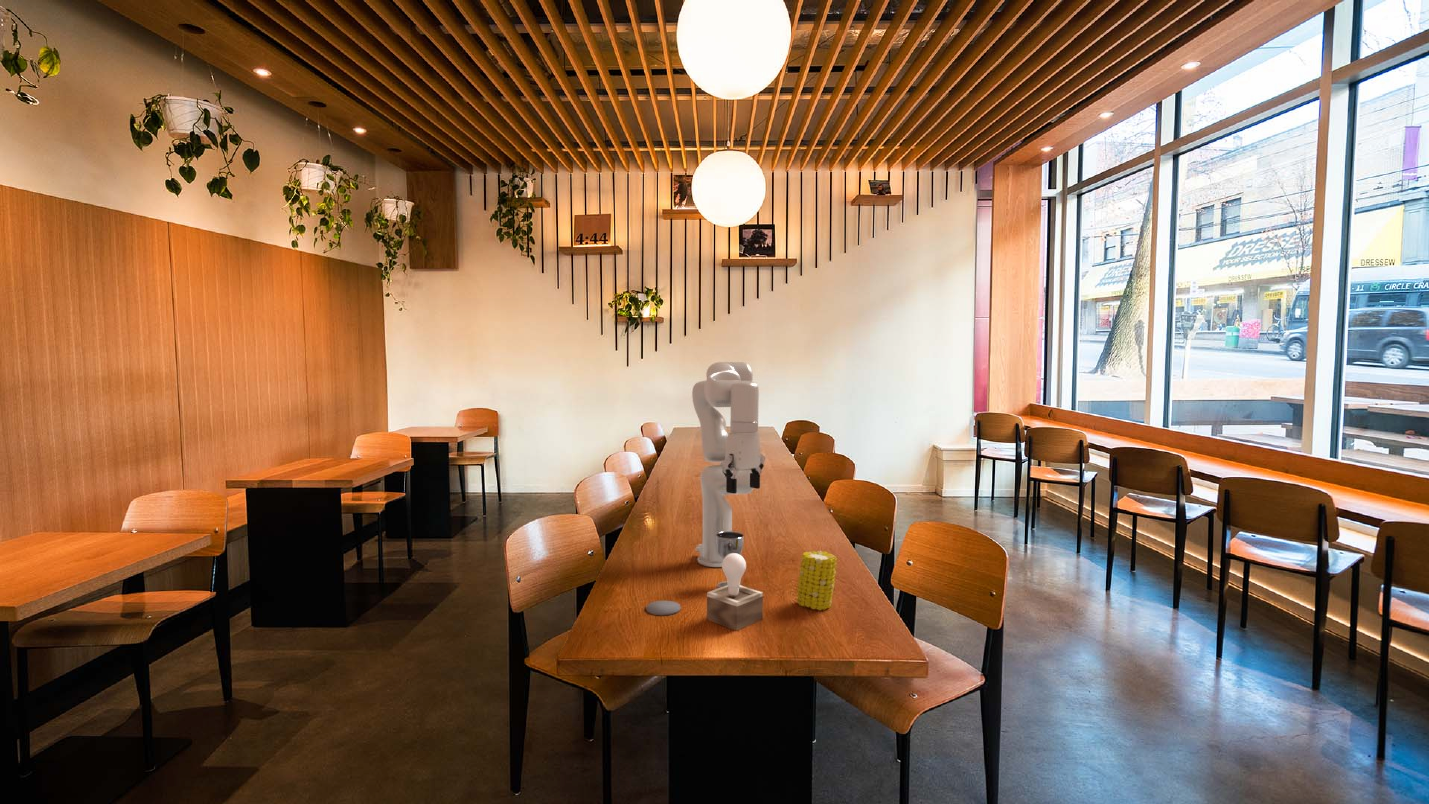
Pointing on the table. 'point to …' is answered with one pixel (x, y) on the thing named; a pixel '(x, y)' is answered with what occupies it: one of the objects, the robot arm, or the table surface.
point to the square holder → (735, 607)
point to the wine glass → (728, 546)
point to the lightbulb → (733, 571)
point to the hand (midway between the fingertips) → (743, 490)
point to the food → (816, 580)
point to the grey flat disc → (663, 608)
